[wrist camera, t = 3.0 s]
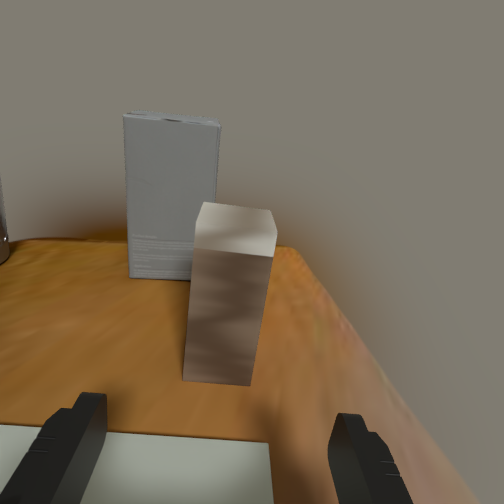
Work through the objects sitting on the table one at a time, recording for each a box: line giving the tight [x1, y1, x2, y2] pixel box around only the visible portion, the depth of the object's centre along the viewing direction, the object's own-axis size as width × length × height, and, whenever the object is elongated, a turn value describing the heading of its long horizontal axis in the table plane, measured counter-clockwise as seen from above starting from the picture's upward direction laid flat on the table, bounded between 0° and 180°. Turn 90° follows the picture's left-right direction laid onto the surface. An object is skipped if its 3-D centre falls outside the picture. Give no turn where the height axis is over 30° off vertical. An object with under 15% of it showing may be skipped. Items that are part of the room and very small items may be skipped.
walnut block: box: [182, 202, 278, 386], centre depth 23 cm, size 4×4×11 cm
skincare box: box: [123, 110, 221, 280], centre depth 35 cm, size 8×7×16 cm
